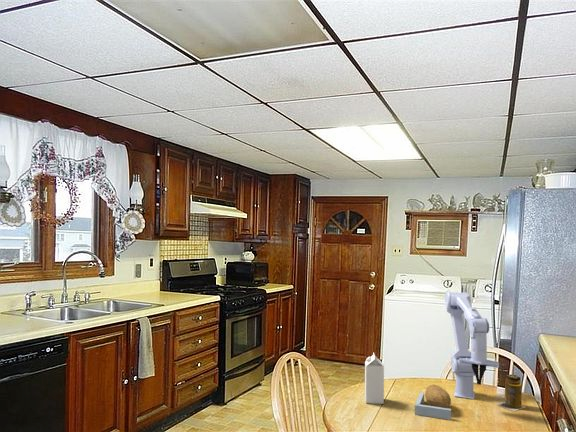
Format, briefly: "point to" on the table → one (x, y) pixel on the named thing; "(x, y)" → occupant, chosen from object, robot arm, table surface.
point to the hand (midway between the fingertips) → (479, 383)
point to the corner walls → (431, 409)
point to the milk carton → (374, 380)
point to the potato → (437, 396)
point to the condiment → (513, 393)
